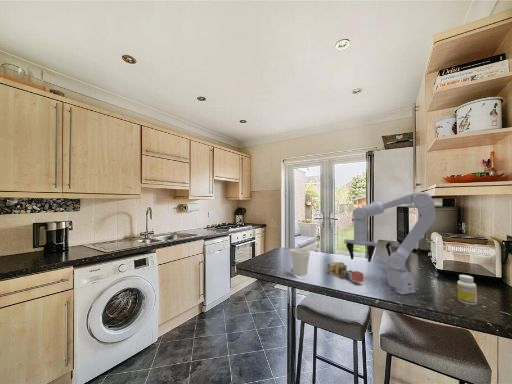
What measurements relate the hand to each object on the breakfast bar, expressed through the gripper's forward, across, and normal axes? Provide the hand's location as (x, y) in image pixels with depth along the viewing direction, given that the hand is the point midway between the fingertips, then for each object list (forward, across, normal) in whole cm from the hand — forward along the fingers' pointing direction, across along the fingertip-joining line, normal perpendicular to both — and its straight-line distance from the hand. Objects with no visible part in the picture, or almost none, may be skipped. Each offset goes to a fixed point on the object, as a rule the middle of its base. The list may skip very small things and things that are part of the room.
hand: (360, 260), depth 106 cm
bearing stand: (+10, +9, +2) cm, 14 cm away
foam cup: (+10, +26, +12) cm, 31 cm away
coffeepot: (+10, -14, -24) cm, 30 cm away
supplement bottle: (+10, -38, -2) cm, 39 cm away
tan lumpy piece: (+8, +9, +2) cm, 12 cm away
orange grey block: (+7, +2, +7) cm, 10 cm away
